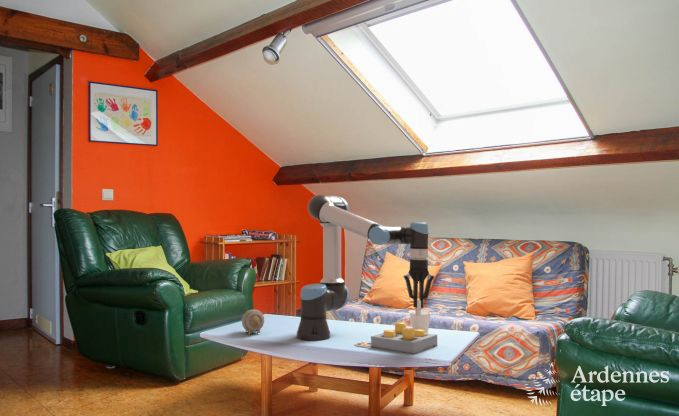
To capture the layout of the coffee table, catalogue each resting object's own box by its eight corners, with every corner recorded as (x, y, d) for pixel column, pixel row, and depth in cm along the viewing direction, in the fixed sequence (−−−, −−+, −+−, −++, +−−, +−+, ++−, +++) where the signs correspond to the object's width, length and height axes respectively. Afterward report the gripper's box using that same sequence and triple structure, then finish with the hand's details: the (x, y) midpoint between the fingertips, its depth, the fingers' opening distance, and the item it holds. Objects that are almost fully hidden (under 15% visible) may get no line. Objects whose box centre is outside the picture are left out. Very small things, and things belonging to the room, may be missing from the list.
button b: (400, 341, 210) (400, 328, 210) (406, 339, 214) (406, 327, 214) (410, 342, 207) (410, 330, 207) (416, 340, 211) (416, 328, 211)
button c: (392, 335, 223) (392, 323, 223) (398, 333, 227) (398, 321, 227) (402, 336, 220) (402, 324, 220) (408, 334, 224) (408, 323, 224)
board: (371, 347, 215) (371, 336, 215) (396, 339, 231) (396, 329, 231) (413, 354, 203) (413, 342, 203) (437, 345, 219) (437, 334, 219)
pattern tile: (354, 345, 218) (354, 343, 218) (362, 343, 222) (362, 341, 222) (366, 347, 214) (366, 345, 214) (374, 345, 219) (374, 343, 219)
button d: (411, 342, 217) (411, 330, 217) (417, 340, 221) (417, 328, 221) (421, 344, 214) (421, 331, 215) (427, 342, 218) (427, 330, 218)
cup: (416, 333, 243) (416, 310, 243) (435, 336, 237) (435, 312, 237) (405, 337, 235) (405, 312, 236) (424, 340, 229) (424, 315, 229)
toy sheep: (246, 337, 235) (246, 312, 235) (237, 330, 250) (237, 307, 251) (268, 335, 239) (268, 311, 240) (258, 329, 255) (259, 306, 255)
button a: (381, 343, 216) (381, 331, 216) (387, 341, 219) (387, 329, 220) (391, 344, 213) (391, 332, 213) (397, 342, 216) (397, 330, 217)
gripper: (406, 259, 215) (405, 317, 214) (436, 259, 216) (435, 316, 216) (401, 258, 222) (400, 313, 221) (431, 258, 224) (430, 313, 223)
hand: (418, 315), depth 218 cm, fingers closed
